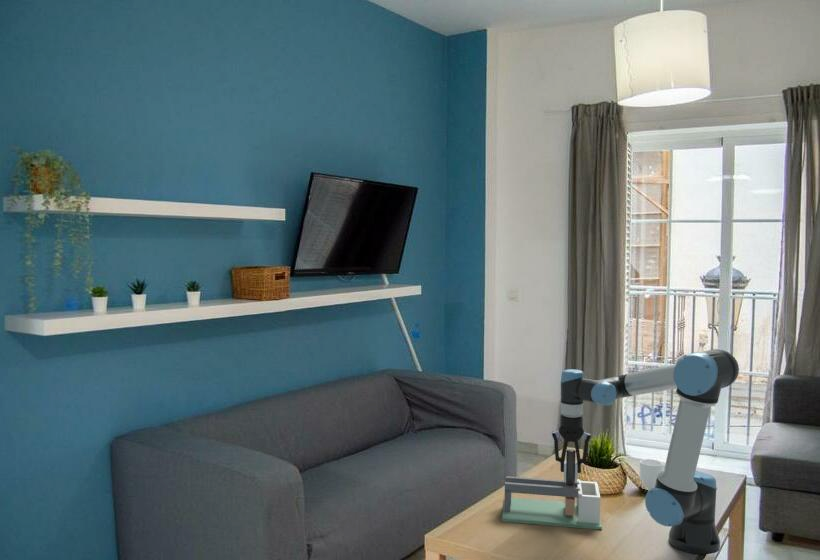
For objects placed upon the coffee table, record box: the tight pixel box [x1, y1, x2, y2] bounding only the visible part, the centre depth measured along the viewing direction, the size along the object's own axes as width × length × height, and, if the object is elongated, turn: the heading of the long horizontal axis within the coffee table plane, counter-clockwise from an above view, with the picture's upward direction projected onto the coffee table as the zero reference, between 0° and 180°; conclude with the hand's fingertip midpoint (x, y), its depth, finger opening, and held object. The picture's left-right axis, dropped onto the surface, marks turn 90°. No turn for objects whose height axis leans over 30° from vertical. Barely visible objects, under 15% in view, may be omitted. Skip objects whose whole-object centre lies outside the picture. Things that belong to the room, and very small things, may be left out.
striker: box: [564, 449, 576, 516], centre depth 247 cm, size 10×3×21 cm, turn 169°
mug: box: [639, 458, 665, 492], centre depth 275 cm, size 12×8×10 cm
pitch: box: [501, 475, 603, 530], centre depth 248 cm, size 20×33×11 cm, turn 79°
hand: (570, 481), depth 246 cm, fingers closed on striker, 3 cm apart
